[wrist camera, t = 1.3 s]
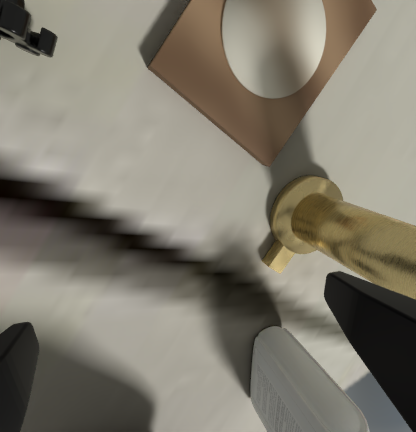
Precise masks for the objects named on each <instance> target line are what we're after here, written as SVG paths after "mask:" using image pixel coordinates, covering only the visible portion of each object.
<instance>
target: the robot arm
mask: <svg viewBox="0 0 416 432" xmlns="http://www.w3.org/2000/svg"><path fill="white" fill-rule="evenodd" d="M324 297H325V300H326V302H327V304H328V306H329V308H330V309H331V311H332V313H333V315H334V316H335V318H336V320H337V322H338V323H339V325H340V327H341V329H342V330H343V332H344V334H345V336H346V337H347V339H348V340H349V342H350V343H351V345H352V346H353V348H354V349H355V351H356V352H357V354H358V355H359V356H360V358H361V359H362V361H363V362H364V364H365V365H366V366H367V368H368V369H369V371H370V372H371V373H372V375H373V376H374V378H375V379H376V380H377V382H378V383H379V385H380V386H381V388H382V389H383V390H384V392H385V393H386V395H387V396H388V397H389V399H390V400H391V402H392V403H393V404H394V406H395V407H396V409H397V410H398V412H399V413H400V414H401V416H402V417H403V419H404V420H405V421H406V423H407V424H408V426H409V427H410V428H411V430H412V431H413V432H416V299H413V298H411V297H408V296H405V295H403V294H400V293H397V292H395V291H392V290H389V289H387V288H384V287H381V286H379V285H376V284H373V283H370V282H368V281H365V280H362V279H360V278H357V277H354V276H352V275H349V274H346V273H344V272H341V271H338V272H332V273H329V274H328V275H327V277H326V283H325V290H324ZM38 355H39V343H38V340H37V337H36V334H35V332H34V329H33V326H32V324H31V323H30V322H24V323H18V324H13V325H12V326H10V327H9V328H8V329H6V330H5V331H4V332H3V333H1V334H0V432H20V430H21V427H22V424H23V421H24V417H25V414H26V410H27V406H28V402H29V398H30V393H31V388H32V384H33V379H34V374H35V369H36V365H37V360H38Z"/></svg>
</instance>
